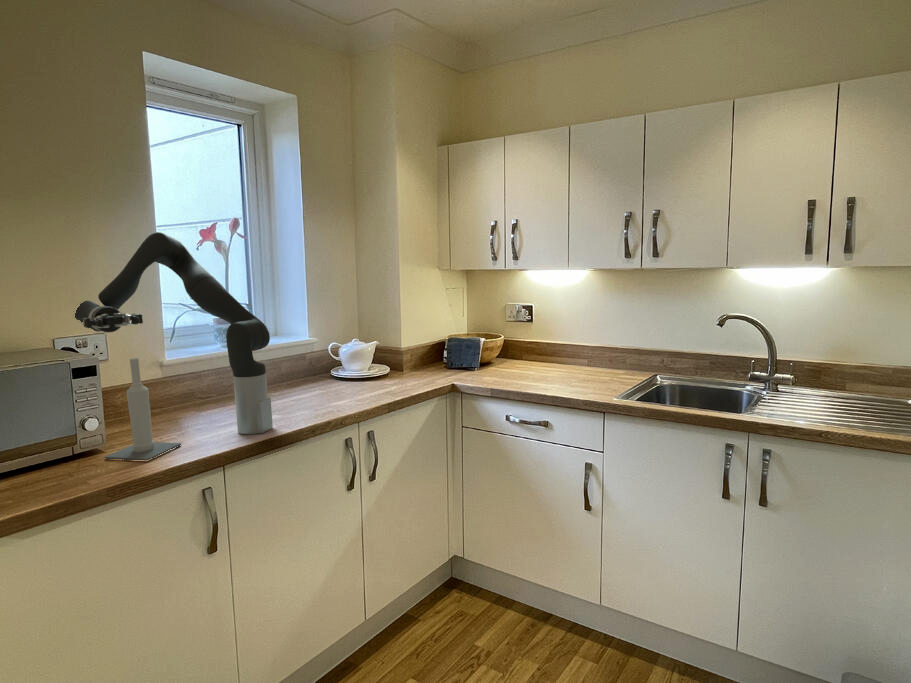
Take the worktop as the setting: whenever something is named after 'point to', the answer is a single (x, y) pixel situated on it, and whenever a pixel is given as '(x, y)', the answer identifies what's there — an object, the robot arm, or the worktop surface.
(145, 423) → the bottle
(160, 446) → the charcoal mat
